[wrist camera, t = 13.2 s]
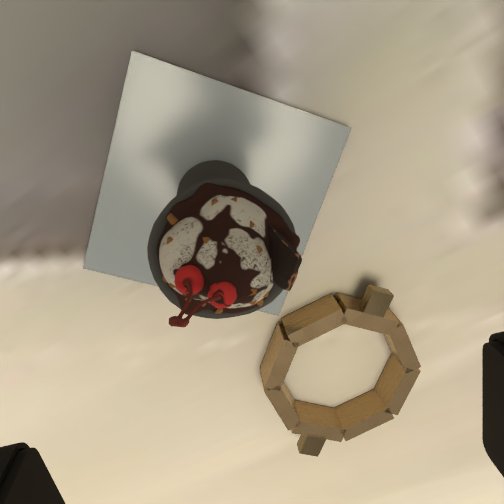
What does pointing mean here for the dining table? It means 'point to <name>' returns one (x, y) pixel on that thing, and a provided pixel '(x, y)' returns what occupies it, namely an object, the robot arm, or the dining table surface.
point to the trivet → (202, 158)
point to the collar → (360, 408)
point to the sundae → (222, 245)
